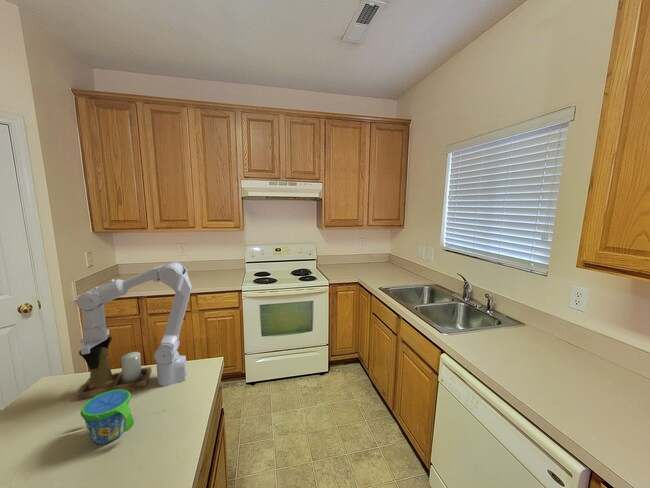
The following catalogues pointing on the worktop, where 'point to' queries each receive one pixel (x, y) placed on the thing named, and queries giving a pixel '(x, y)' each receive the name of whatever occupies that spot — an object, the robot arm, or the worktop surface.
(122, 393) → the snack cup
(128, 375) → the salt shaker
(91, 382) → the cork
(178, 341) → the robot arm
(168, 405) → the worktop surface
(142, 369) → the caddy
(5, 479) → the worktop surface
